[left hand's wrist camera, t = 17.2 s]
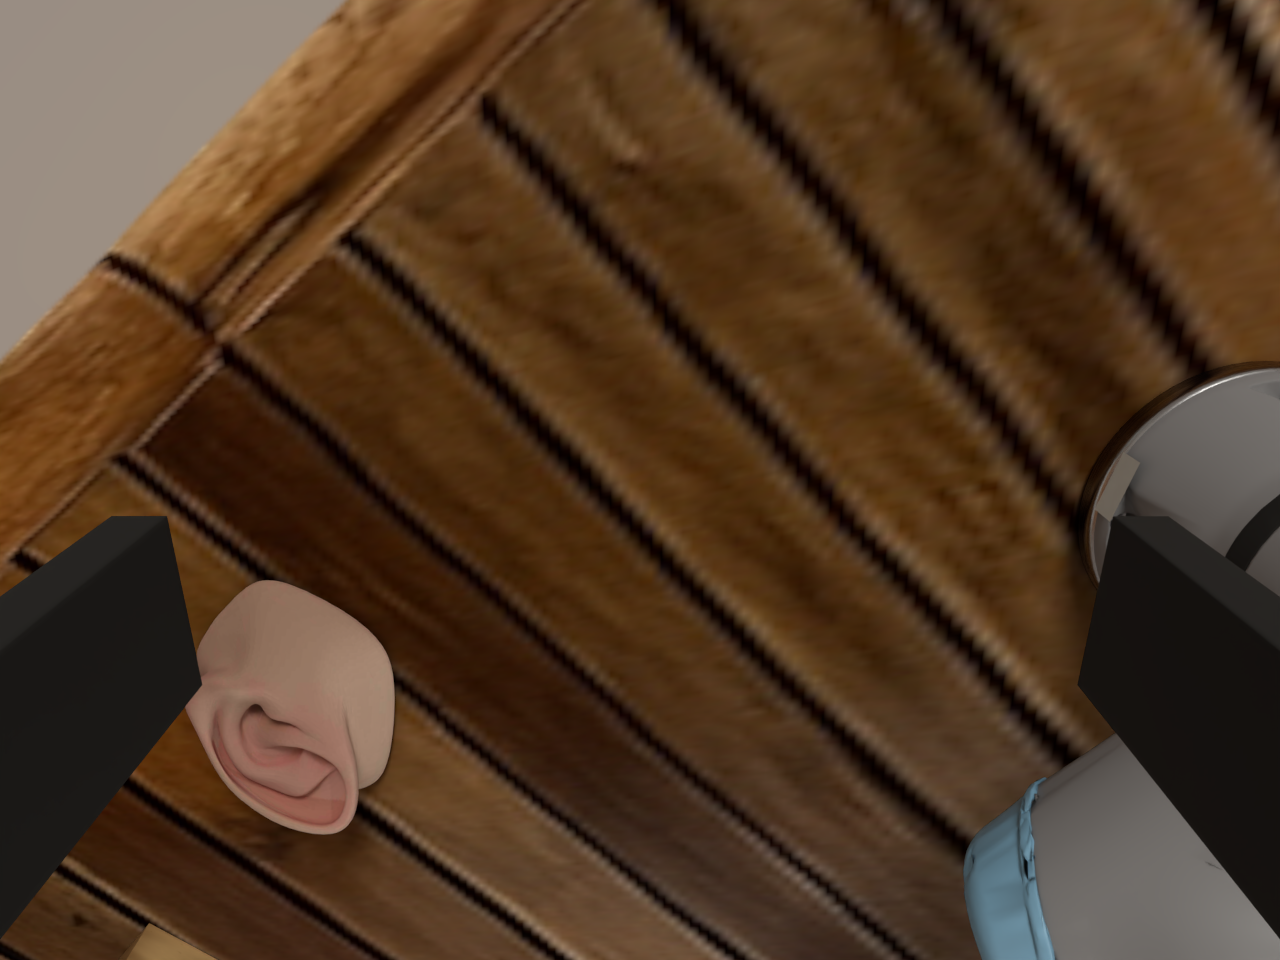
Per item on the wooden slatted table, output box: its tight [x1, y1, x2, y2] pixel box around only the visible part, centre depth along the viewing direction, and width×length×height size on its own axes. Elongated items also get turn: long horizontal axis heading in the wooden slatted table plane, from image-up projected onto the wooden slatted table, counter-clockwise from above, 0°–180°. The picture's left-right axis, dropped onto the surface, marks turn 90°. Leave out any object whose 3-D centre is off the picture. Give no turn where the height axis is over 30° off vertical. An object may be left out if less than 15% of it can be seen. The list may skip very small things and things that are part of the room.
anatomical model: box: [185, 580, 395, 834], centre depth 48 cm, size 13×4×12 cm
